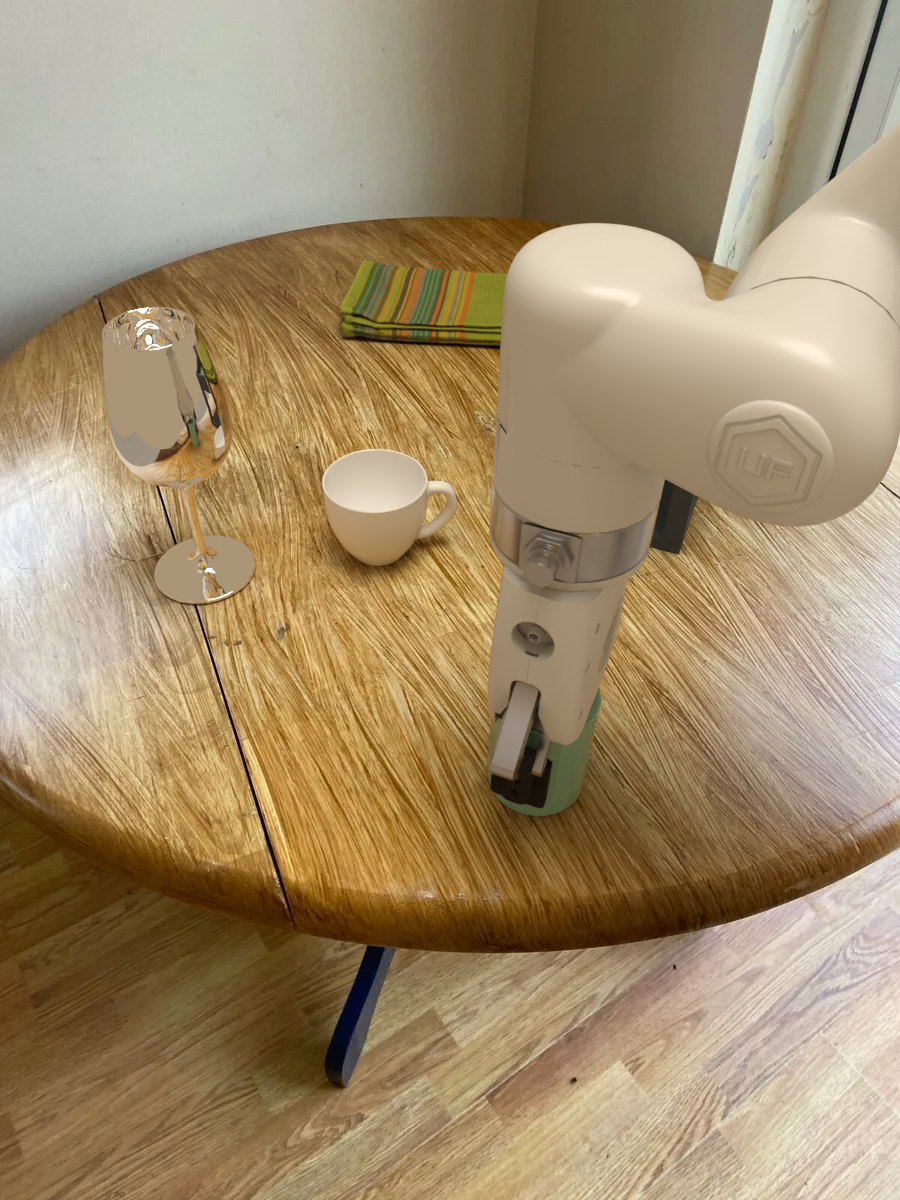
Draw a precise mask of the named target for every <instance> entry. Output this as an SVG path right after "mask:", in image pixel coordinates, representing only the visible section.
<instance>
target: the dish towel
mask: <svg viewBox="0 0 900 1200" xmlns="http://www.w3.org/2000/svg"><path fill="white" fill-rule="evenodd" d="M507 274H508V273H498V272H482V271H467V270H452V269H441V268H440V269H439V268H429V267H428V268H426V267H416V266H402V265H401V266H398V265H389V264H384V263H380V262H377V261H373V260H366V259H365V260H362V261H361V264H360V265H359V267H358V270H357V272H356V273H355V277H354V279H353V281H352V283H351V284H350V287H349V289H348V291H347V293H346V295H344V297H343V299H342V301H341V304H340V307H339V312H340V313H339V315H340V318H341V319H344V320H343V322H341V323H340V333H341V335H342V336H343V337H346V338H353V337H362V338H365V339H366V338H367V339H372V340H373V339H374V340H381V341H398V342H399V341H400V342H411V343H431V344H433V343H434V344H461V345H477V346H478V345H479V346H480V345H482V346H497V347H498V346H499V347H500V345H501V329H502V312H503V299H504V290H505V282H506V277H507Z"/></svg>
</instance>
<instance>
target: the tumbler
mask: <svg viewBox="0 0 900 1200" xmlns="http://www.w3.org/2000/svg"><path fill="white" fill-rule="evenodd" d="M601 695H602V693H601V689H600V687H599V688H598V691H597V694H596V696H595V699H594V702H593V704H592V707H591V709H590V712H589V715H588V717H587V720H586V722H585V725H584V727H583V729H582V732H581V734H580V736H579V737H578V739H577V740H575V741H574V742H573V743H571V744H569V745H563V744H560V743H556V742H552V743H551V747H550V751H549V755H548V759H550V761H553V763H552V769H551V776H550V782H549V788H548V794H547V799H546V802H545V805H544V807H543V808H536V807H533V806H530V805H528V804H524V805H519V804H516V803H513V802H510V801H508V800H506V799H504V798H503V797H502V795H499V794H496V793H494V792H493V791H492V794H493V795H494V796H495V797H496V798H497V800H498V801H499V802H500V803H502V804H503V805H504V806H506V807H507V808H508V809H510V810H512V811H514V812H516V813H518V814H522V815H526V816H530V817H548V816H552V815H556V814H559V813H561V812H563V811H565V810H567V809H568V808H569V807H571V806H572V805H573V804H574V803H575V802H576V801H577V800H578V799H579V797H580V795H581V792H582V790H583V788H584V783H585V780H586V778H587V777H586V776H587V772H588V768H589V763H590V758H591V753H592V749H593V748H592V747H593V744H594V738H595V734H596V730H597V724H598V720H599V715H600V710H601V706H602V696H601ZM536 712H539V705H538V707H537V710H536ZM500 720H501V719H498V720H497V722H494V720H493V719H492V718H491V716H490V715H489V729H488V731H489V732H488V742H487V754H486V778H487V782H488V786H490V784H491V773H489V769H490V765H491V762H492V755H493V749H494V746H495V742H496V738H497V733H498V729H499V725H500ZM540 735H541V733H539V732H536V731H533V730H530V733H529V736H528V740H527V743H526V746H527V747H530V748H533V749H536V750H537V747H538V743H539V739H540Z"/></svg>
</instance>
